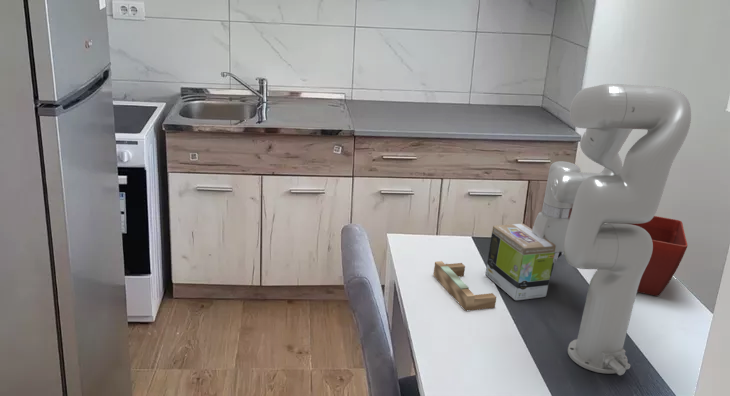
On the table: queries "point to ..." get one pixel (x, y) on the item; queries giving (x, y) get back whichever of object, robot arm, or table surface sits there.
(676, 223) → the plant pot
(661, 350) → the table surface
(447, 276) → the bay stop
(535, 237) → the tea box
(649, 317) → the table surface
